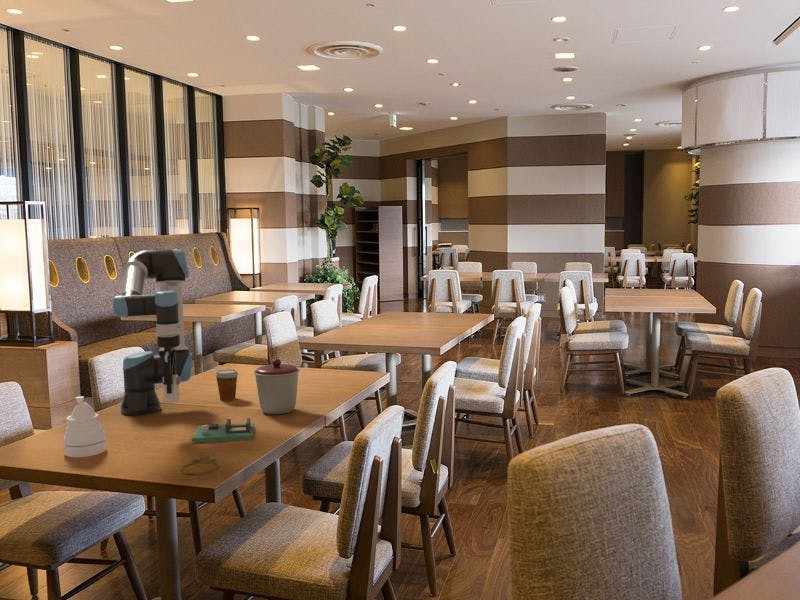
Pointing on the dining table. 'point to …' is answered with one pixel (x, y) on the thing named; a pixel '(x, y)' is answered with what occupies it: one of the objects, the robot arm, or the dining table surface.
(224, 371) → the disposable coffee cup
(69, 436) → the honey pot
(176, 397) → the plug
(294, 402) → the canister
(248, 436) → the board
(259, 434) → the dining table surface
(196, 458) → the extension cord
